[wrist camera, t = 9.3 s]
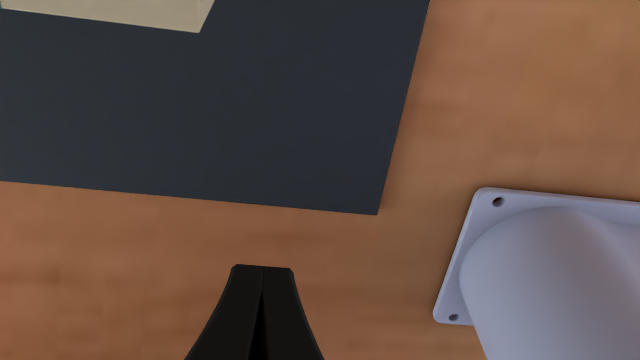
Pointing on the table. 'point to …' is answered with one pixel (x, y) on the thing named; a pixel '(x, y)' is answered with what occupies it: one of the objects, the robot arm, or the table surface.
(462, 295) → the robot arm
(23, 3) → the tea box
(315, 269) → the table surface
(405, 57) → the mat
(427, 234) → the table surface
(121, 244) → the table surface
